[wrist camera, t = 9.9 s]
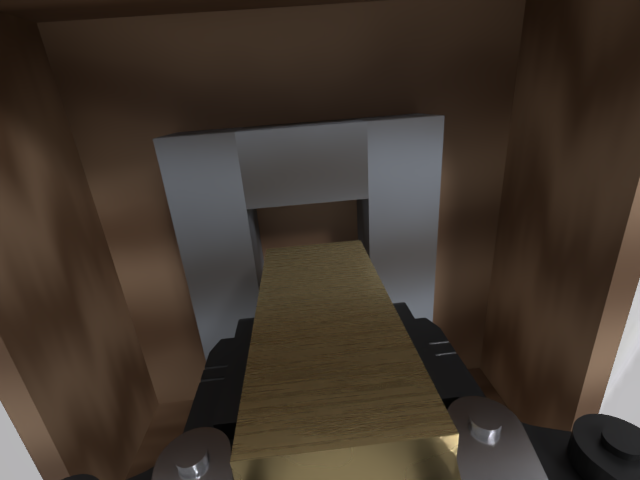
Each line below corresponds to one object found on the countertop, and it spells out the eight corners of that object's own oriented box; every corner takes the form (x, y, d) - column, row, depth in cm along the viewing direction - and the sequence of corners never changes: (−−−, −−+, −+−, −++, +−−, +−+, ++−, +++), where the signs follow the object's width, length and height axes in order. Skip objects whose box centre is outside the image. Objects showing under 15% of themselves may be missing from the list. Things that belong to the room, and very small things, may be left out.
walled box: (18, 1, 14) (-276, -109, 7) (538, -31, 15) (771, -156, 8) (152, 404, 22) (83, 554, 15) (485, 367, 23) (575, 489, 16)
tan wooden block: (266, 248, 12) (230, 462, 5) (360, 239, 13) (458, 433, 5) (277, 328, 14) (260, 592, 6) (362, 319, 14) (445, 566, 6)
